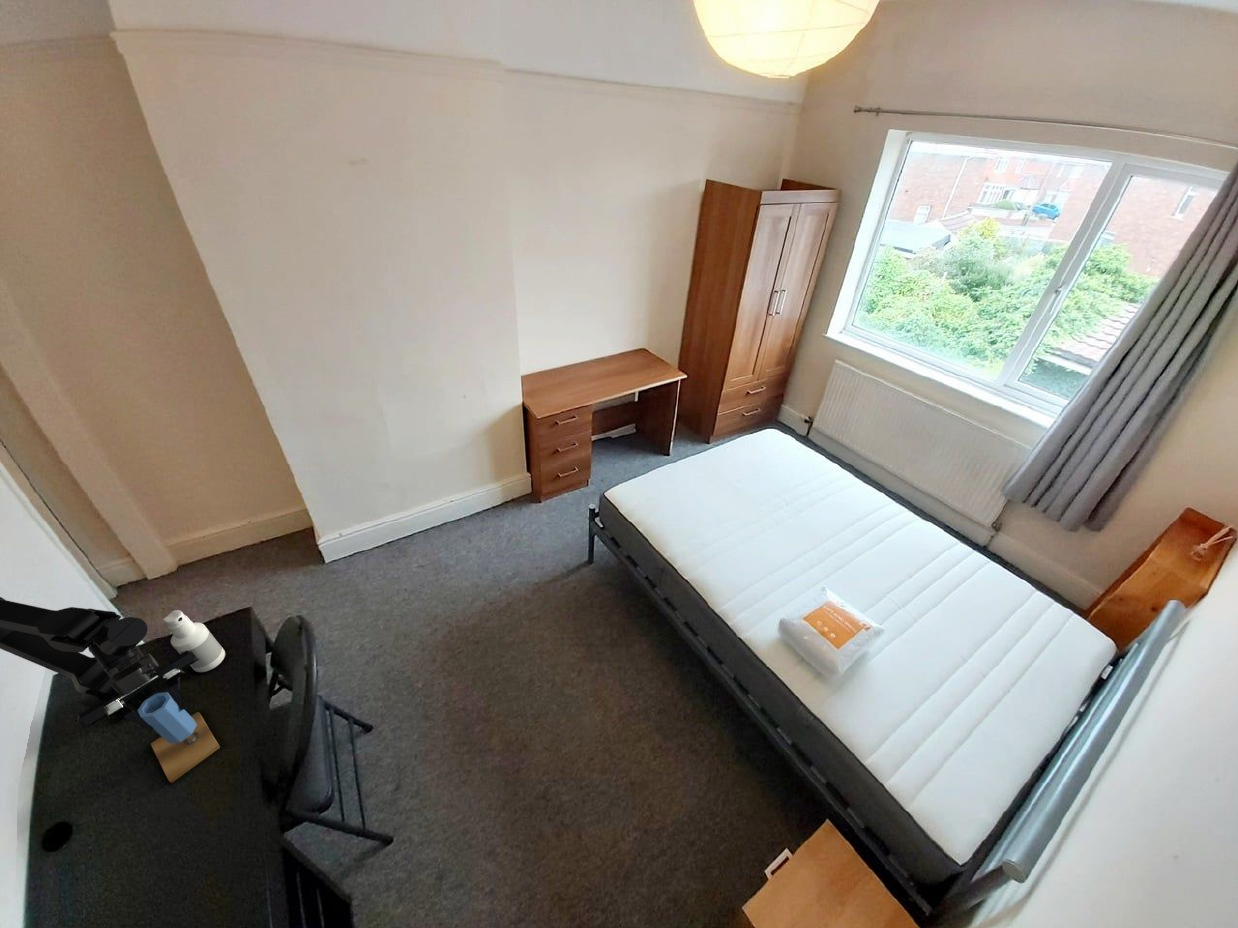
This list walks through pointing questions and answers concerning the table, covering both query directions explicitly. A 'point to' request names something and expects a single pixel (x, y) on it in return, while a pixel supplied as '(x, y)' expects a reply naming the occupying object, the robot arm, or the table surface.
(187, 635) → the spray bottle
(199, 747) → the base
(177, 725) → the sleeve
